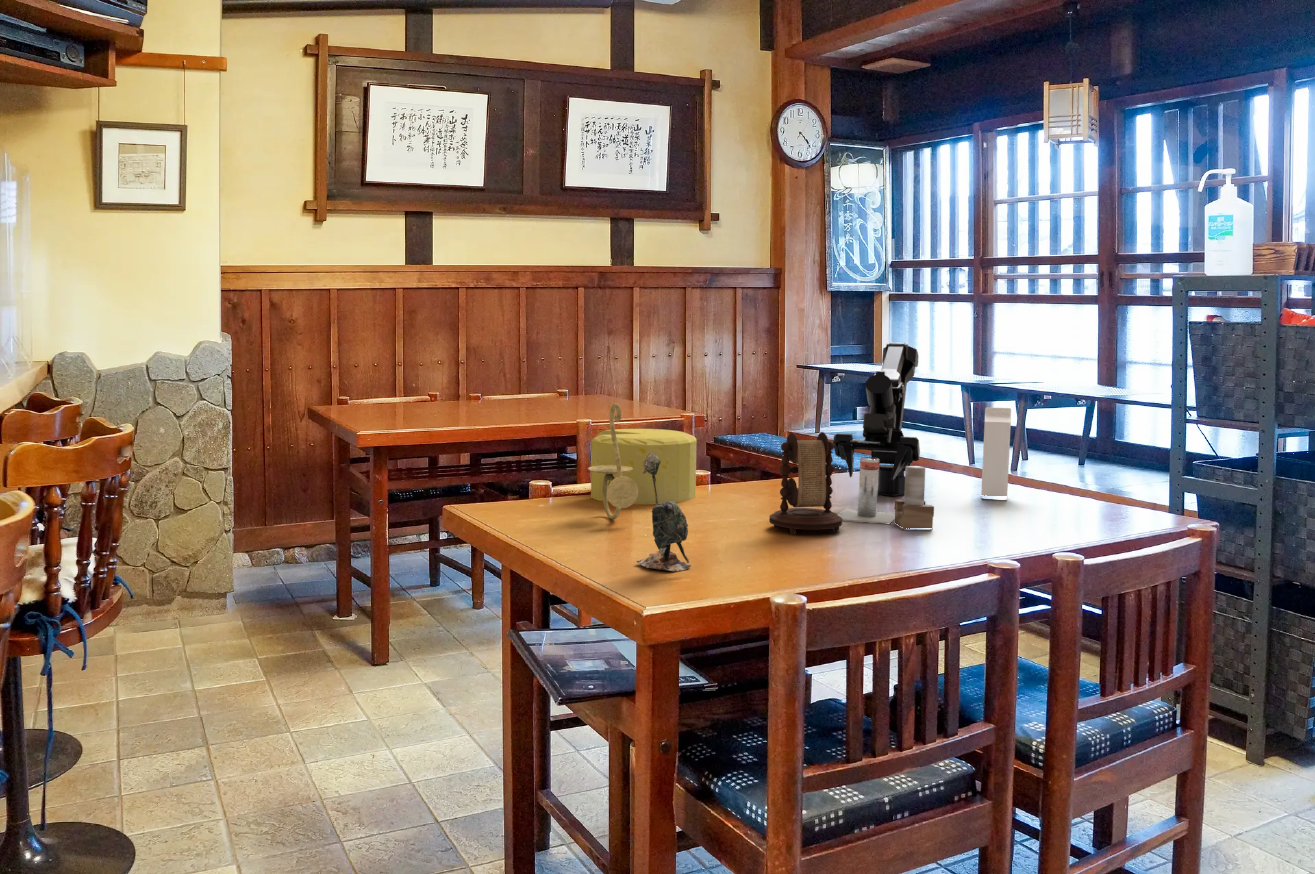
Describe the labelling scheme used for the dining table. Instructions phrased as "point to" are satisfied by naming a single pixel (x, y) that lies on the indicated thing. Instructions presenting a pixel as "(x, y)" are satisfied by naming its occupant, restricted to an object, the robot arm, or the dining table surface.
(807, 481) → the beaded wooden stand
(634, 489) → the wall sconce
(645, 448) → the cheese
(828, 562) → the dining table surface
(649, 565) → the stone figurine
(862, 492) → the silver cylinder copper band
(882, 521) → the grey mat
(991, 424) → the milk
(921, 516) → the white candle wooden holder
